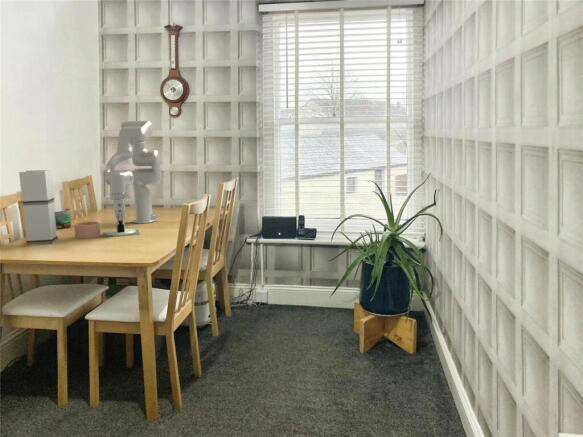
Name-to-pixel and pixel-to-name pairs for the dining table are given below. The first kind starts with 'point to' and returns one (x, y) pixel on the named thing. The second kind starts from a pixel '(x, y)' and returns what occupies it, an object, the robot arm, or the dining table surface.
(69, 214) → the food container
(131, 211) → the dining table surface
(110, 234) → the lid
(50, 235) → the grey two-tier tower
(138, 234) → the mat
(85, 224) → the bowl
